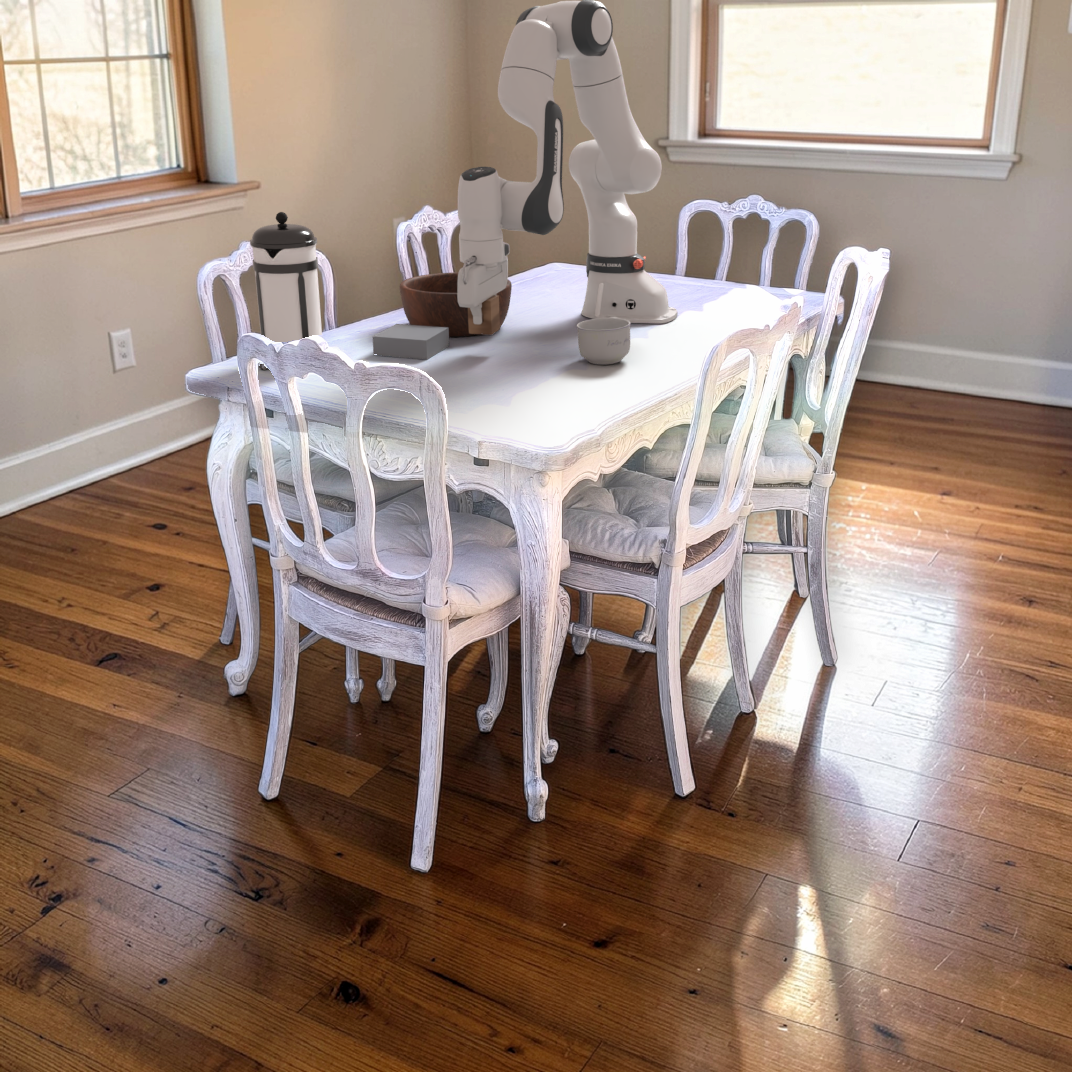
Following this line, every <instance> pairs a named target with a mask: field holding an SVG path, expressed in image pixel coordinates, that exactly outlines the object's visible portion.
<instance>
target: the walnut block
mask: <svg viewBox="0 0 1072 1072" xmlns="http://www.w3.org/2000/svg"><path fill="white" fill-rule="evenodd" d="M481 311H482V314H484V322H483V323H482V324H474V323H473V315H472V312H471V310H470V308H468V325H469V333H470V334H481V335H489V336H491V335H494V334H495V333H496V332H499V330H500V329H501V327H500V316H499V295H494V296H492V297H490V298H489V299H487V300H486V301H484V302H482V308H481Z"/></svg>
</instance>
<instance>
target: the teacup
mask: <svg viewBox="0 0 1072 1072" xmlns="http://www.w3.org/2000/svg"><path fill="white" fill-rule="evenodd" d="M631 324H632V323H630V321H628V320H625V319H619V318H618V317H611V318H598V319H592V318H591V319H586V320H583V321H579V322H578V323H577V324H576V329H577V330H576V331H577V343H578V352H579V353H580V355H581V357H582V358H584V359H585V360H586V361H587V362H588V363H590V364H593V365H601V366H602V365H604V366H605V365H613V364H617V363H619V362H621V361H622V360H623V359H624V358H625V357H626V356H627V355H628V354H629V352H630V349H631Z"/></svg>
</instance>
